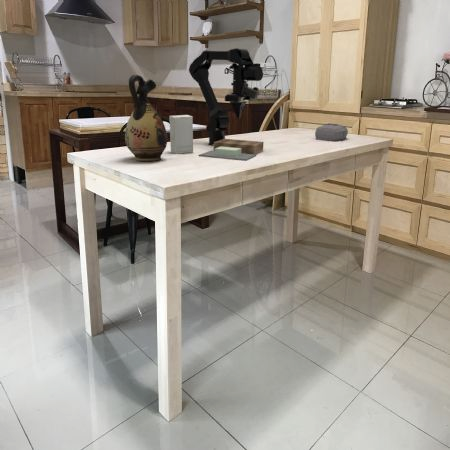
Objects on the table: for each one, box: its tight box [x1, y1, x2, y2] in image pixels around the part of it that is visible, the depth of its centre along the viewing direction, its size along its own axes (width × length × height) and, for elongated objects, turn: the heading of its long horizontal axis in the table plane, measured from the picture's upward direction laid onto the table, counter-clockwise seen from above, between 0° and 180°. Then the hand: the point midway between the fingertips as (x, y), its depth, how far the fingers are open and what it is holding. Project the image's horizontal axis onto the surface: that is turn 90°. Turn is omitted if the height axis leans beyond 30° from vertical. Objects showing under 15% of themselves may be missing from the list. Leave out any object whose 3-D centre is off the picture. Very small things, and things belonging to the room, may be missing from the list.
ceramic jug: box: [124, 74, 168, 162], centre depth 152 cm, size 17×15×30 cm
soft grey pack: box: [314, 122, 349, 142], centre depth 224 cm, size 15×8×20 cm
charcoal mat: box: [198, 150, 257, 162], centre depth 169 cm, size 20×12×1 cm, turn 68°
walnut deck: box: [213, 138, 264, 156], centre depth 179 cm, size 18×12×4 cm, turn 68°
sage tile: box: [215, 147, 241, 157], centre depth 168 cm, size 9×6×2 cm, turn 68°
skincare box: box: [169, 114, 194, 154], centre depth 172 cm, size 8×6×15 cm
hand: (238, 118), depth 185 cm, fingers closed
